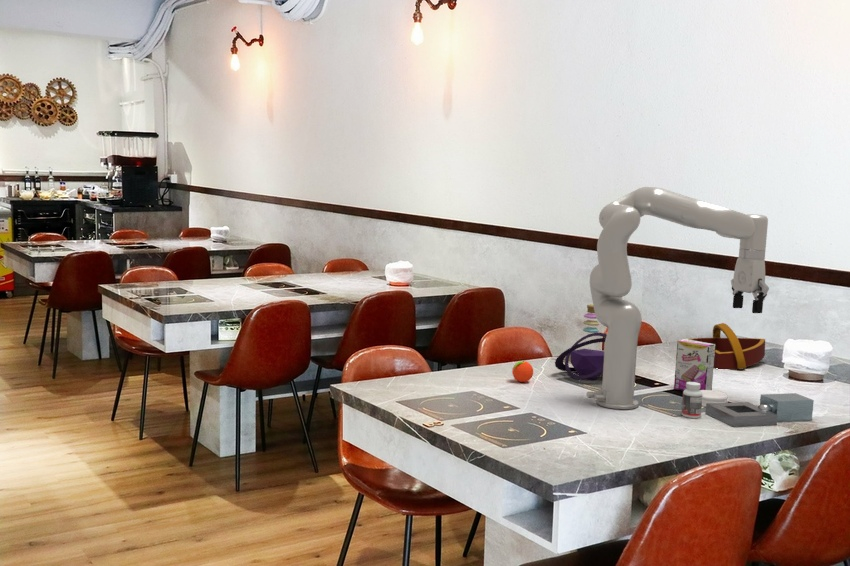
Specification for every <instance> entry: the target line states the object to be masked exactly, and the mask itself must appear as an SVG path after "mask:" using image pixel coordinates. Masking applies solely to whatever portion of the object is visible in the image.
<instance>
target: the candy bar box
mask: <svg viewBox="0 0 850 566" xmlns="http://www.w3.org/2000/svg"><path fill="white" fill-rule="evenodd" d="M688 339H689V338H682V339H678V340H677V344H676V355H675V356H676V357H675V372H674V382H673V389H674V390H678V391H682V392H683V391H684V390H686V389H687V388H686V383H687V382H697V383H700V389H699V390H713V382H714V381H713V378H714V369H715V368H714V356H715V344H711V343H705V342H699V341H694V340H688Z"/></svg>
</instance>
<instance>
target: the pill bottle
mask: <svg viewBox="0 0 850 566" xmlns="http://www.w3.org/2000/svg"><path fill="white" fill-rule="evenodd" d="M686 388H687V389H686V390H684V391H682V403H681V404H682V405H681V416H683V417H684V418H688V419H699V418H701V417H702V407H703V406H702V392H701V391H699V389H700V383H697V382H687V383H686Z"/></svg>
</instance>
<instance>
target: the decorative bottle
mask: <svg viewBox="0 0 850 566" xmlns="http://www.w3.org/2000/svg"><path fill="white" fill-rule="evenodd" d="M586 308H587V311H586V312H587V313H584V315H583V317H584V318H587V319H588V320H585V321H583V324H584V325H586V326H587V327H584V328H583V329H582V331H583V332H585V333H588V334H587V335H585V336H583V337H581V338H579V339H578V340H576V342H574V343H573V344H572V345H571V346H570V347H569V348H566V350H565V351H563V352H561V353H560V354H559V356H557V357H556V359H555V361H554V366H555V368H556V369H557V370H559V371H563V372H566V373H567V374H568V376H570V377H571V378H574V379H577V380H595V379H598V378H599V377H600V376H602V375H603V363H604V350H597V349H592V348H582V347H585V346H588V345H592V344H596V343H597V344H598V343H605V340H606V336H607V333H605V332H599V329H598V328H597V326H599V325H600V322H599V321H598V320H594V319H597V318H596V315H595V311H594V306H593V303H591V304H587V305H586ZM589 319H591V320H589ZM589 326H590V327H589ZM591 326H592V327H591ZM594 326H596V327H594ZM589 333H590V334H589ZM592 337H600V338H593V339H590V340H586V339H588V338H592ZM569 360H570V364H571V367H570V365H569ZM574 372H576V373H577V374H576V373H574Z"/></svg>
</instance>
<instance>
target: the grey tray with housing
mask: <svg viewBox="0 0 850 566" xmlns="http://www.w3.org/2000/svg"><path fill="white" fill-rule="evenodd" d="M814 402H815V401H814V399H812V398H809V397H807V396H803V395H801V394H799V393H796V392H795V393H769V394H767V393H763V394H760V399H759V404H758V405H755V404H753V403H751V402H750V401H743V402H742V401H741V402H740V401H738V402H737V401H736V402H727V403H707V404H706V407H705V415H708V416H710V417H711V418H713V419H716V420H718V421H720V422H722V423H724V424H727V425H729V426H730V427H733V428H737V427H739V428H741V427H743V428H744V427H761V426H762V427H763V426H765V427H766V426H778V425H777V423H778V422H780V423H781V422H798V421H799V422H800V421H801V422H802V421H805V422H806V421H812V420H813V411H814Z"/></svg>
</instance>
